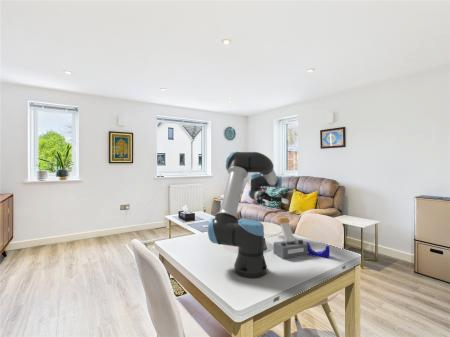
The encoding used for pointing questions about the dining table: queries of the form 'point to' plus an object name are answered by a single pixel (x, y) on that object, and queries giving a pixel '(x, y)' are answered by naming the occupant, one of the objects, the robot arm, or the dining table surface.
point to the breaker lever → (286, 230)
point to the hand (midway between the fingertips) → (278, 202)
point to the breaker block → (290, 249)
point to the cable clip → (319, 252)
